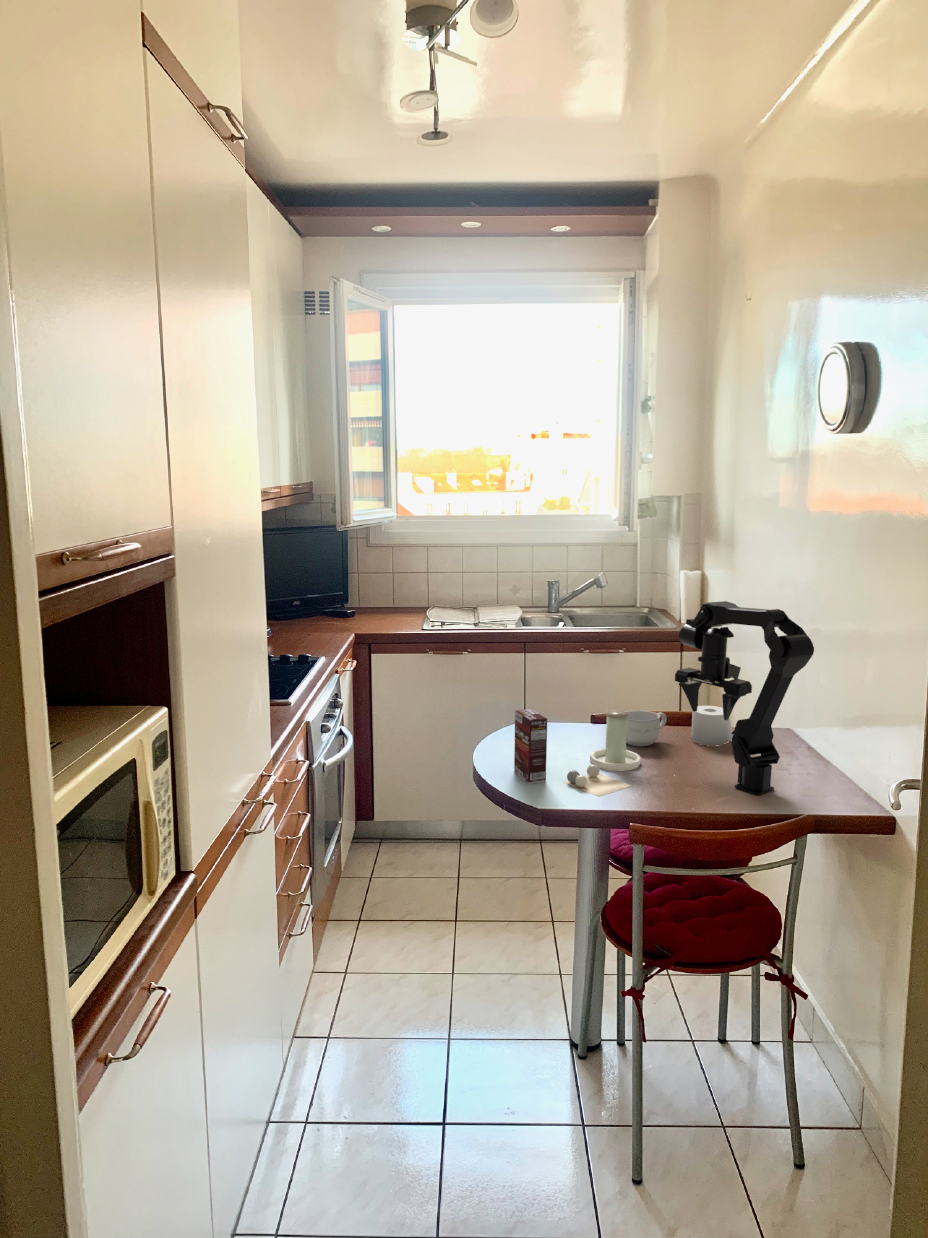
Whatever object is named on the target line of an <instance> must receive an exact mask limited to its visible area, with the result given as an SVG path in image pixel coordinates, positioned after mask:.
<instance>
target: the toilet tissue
mask: <svg viewBox="0 0 928 1238" xmlns="http://www.w3.org/2000/svg"><path fill="white" fill-rule="evenodd" d="M691 717H692V718H691V731H690V732H691V735H690V739H691V738H692V740H691V742H692V741H695V742H696V743H699V744H702V745H701V746H704V745H709V746H708V747H710V746H711V747H717V746H716V745H723V744H724V743H727V742H728V741H731V740H732V736H733V735H734V734H732V732H733V729H732V723H731V718H730V717H731V716H730V717H729V719H728V720H724V715H723V707H721V706H715V705H698V707H697V711H696V712H694V711H693V710H692V716H691ZM696 743H695V744H696ZM723 746H724V745H723Z"/></svg>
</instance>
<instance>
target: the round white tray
mask: <svg viewBox="0 0 928 1238" xmlns="http://www.w3.org/2000/svg"><path fill="white" fill-rule="evenodd" d="M605 751H606V748H599V749H596V750H593V751H592V752H591V753H589V754H590V755H589V762H590V763H591V765H596V766H598V768H599V769H603V770H605V771H615V772H617V771H618V772H622V771H625V772H626V771H631V770H635V769H637V768H639V766H640V764H641V762H642V761H641V756H640V754H638V753H637V752H633V751H631V750H628V749H626V762H625V763H609V762H605Z"/></svg>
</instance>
